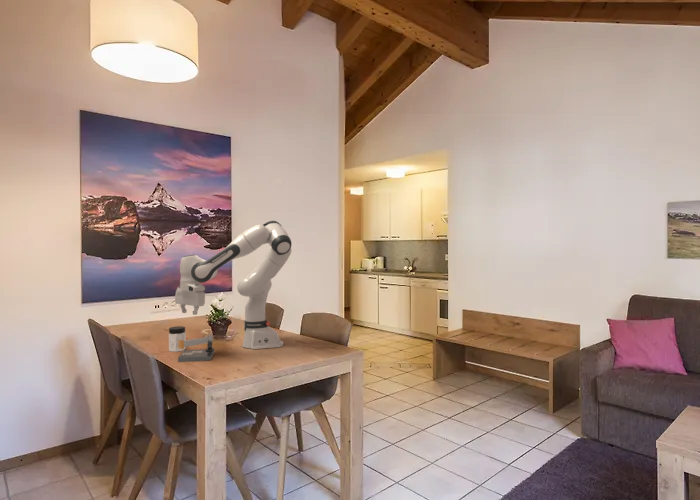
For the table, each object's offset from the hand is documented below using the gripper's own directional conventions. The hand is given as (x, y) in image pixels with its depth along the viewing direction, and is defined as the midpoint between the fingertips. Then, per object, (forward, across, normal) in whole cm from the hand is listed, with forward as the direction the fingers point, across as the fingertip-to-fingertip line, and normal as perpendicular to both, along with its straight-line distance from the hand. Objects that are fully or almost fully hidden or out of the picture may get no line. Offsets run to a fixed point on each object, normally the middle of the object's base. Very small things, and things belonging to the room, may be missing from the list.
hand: (189, 313), depth 224 cm
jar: (+22, -16, +4) cm, 27 cm away
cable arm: (+16, +5, +1) cm, 16 cm away
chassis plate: (+21, +6, 0) cm, 22 cm away
